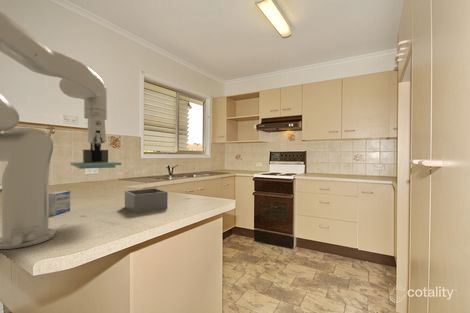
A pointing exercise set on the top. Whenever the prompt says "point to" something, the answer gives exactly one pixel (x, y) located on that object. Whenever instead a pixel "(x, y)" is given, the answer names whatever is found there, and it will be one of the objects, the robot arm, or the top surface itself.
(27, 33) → the robot arm
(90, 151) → the lid
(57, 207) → the medicine box
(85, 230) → the top surface
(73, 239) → the top surface
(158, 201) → the bin
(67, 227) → the top surface
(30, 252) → the top surface
